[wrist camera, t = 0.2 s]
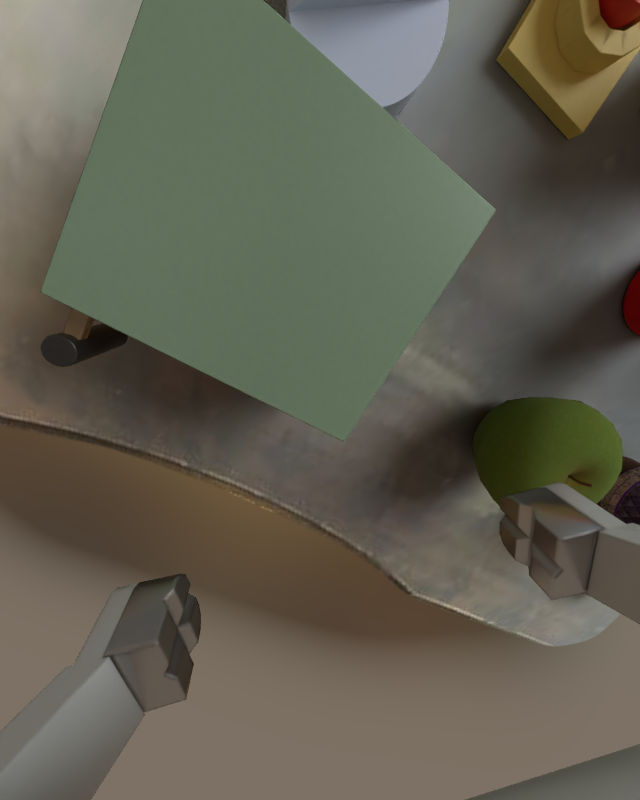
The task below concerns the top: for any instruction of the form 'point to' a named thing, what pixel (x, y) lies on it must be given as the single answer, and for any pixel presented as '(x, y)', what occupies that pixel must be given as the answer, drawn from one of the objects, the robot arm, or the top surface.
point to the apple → (547, 448)
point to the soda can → (633, 304)
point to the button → (619, 11)
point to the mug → (625, 494)
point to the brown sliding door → (80, 341)
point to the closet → (259, 213)
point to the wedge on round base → (376, 41)
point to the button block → (568, 59)
